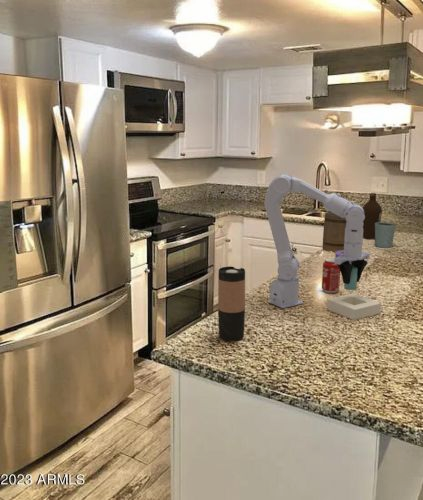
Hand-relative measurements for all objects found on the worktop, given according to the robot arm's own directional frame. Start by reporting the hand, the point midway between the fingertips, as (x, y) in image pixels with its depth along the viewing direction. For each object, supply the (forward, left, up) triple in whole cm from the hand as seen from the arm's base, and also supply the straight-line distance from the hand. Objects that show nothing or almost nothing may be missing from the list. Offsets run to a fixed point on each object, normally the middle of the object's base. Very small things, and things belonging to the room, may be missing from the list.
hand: (351, 282), depth 167 cm
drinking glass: (+86, +59, -9) cm, 104 cm away
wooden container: (+61, +67, -9) cm, 91 cm away
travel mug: (-47, 0, -9) cm, 48 cm away
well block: (-1, -3, -9) cm, 10 cm away
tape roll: (+44, +43, -9) cm, 62 cm away
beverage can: (+8, +17, -9) cm, 21 cm away
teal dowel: (0, 0, -2) cm, 2 cm away
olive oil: (+97, +78, -9) cm, 125 cm away
